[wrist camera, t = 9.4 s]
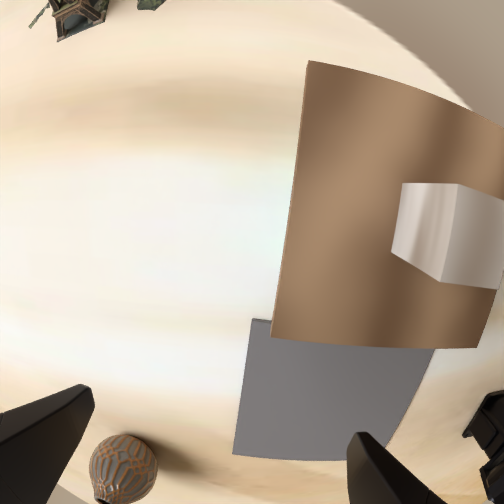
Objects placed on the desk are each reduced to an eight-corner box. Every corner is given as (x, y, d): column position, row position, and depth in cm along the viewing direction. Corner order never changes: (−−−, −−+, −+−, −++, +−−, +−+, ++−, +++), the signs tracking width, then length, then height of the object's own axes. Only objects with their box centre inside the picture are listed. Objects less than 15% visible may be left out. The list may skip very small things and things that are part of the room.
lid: (507, 137, 11) (569, 130, 6) (468, 340, 14) (515, 385, 9) (306, 68, 12) (323, 7, 6) (270, 328, 15) (268, 397, 9)
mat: (437, 334, 19) (439, 336, 19) (377, 455, 23) (377, 458, 22) (252, 318, 20) (251, 320, 20) (232, 451, 23) (232, 454, 23)
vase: (167, 442, 24) (141, 508, 15) (161, 471, 25) (140, 527, 17) (105, 415, 24) (67, 472, 15) (107, 448, 25) (78, 499, 17)
